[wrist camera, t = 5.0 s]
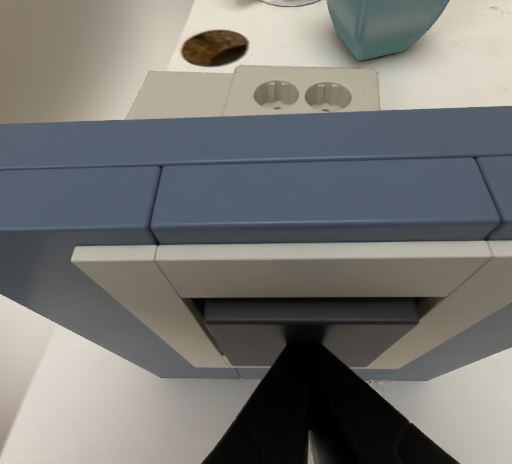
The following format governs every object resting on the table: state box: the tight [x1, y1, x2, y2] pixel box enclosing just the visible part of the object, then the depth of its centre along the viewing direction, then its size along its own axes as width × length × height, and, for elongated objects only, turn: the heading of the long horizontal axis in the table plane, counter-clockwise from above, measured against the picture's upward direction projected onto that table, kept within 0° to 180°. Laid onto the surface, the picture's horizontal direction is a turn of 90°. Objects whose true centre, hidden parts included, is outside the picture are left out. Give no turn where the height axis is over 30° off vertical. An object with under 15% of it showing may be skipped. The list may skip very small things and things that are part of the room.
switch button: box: [204, 297, 419, 367], centre depth 9 cm, size 2×4×5 cm, turn 89°
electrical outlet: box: [125, 65, 381, 120], centre depth 26 cm, size 7×4×18 cm
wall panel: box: [0, 106, 512, 381], centre depth 12 cm, size 3×14×15 cm, turn 89°
